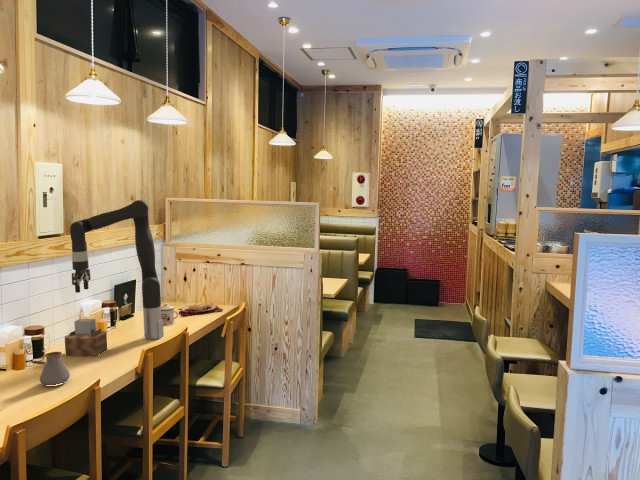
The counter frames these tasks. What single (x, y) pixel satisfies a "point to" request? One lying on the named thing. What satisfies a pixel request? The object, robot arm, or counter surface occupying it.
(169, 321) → the teacup with lid
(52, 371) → the coffee pot
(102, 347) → the coupler stand
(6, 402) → the counter surface
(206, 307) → the plate with food
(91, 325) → the lock block
